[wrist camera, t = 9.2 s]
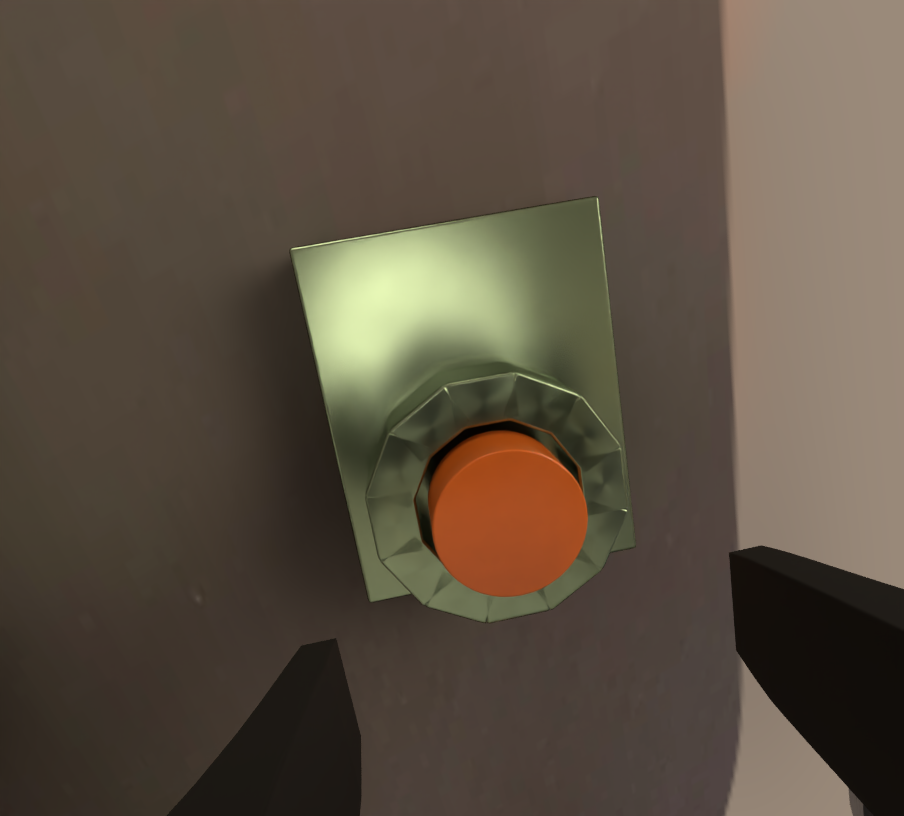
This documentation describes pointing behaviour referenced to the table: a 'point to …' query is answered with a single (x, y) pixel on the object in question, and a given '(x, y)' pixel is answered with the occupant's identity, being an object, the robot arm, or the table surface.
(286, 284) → the table surface
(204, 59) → the table surface
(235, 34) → the table surface
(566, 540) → the button
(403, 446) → the control block
